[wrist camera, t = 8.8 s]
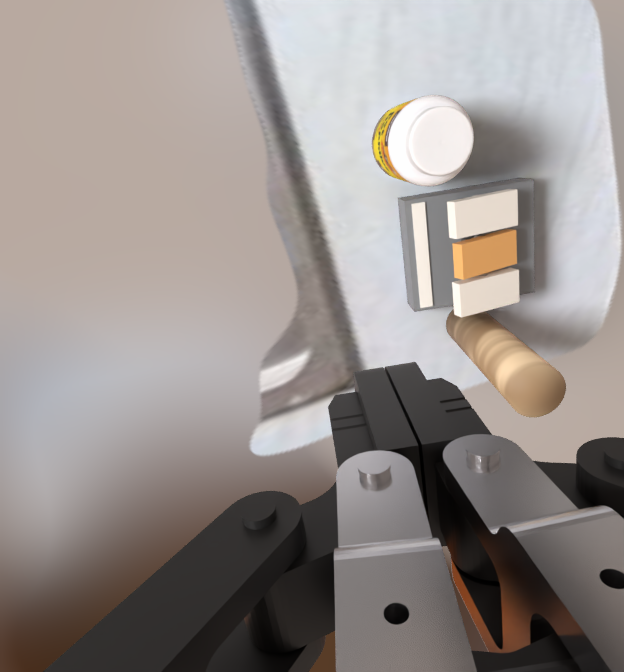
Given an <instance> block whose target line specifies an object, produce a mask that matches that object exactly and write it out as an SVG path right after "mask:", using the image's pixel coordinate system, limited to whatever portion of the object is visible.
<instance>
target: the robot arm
mask: <svg viewBox="0 0 624 672" xmlns="http://www.w3.org/2000/svg"><path fill="white" fill-rule="evenodd" d="M353 378H354V386H355V392H352V393H346V394H340V395H335V396H334V398H333V400H332V401H331V403H330V405H329V406H328V409H329V415H330V421H331V427H332V434H333V440H334V446H335V452H336V458H337V464H338V471H337V475H336V482H335V484H334V485H333V486H332V487H331V488H330V489H329V490H328V491H327V492H326V493H324V494H323V495H321V496H320V497H318V498H316V499H314V500H312V501H309V502H307V503H305V504H302V505H299V503H298V501H297V500H296V499H295V498H294V497H292V496H290V495H288V494H286V493H283V492H277V491H265V492H259V493H254V494H251V495H248V496H246V497H244V498H242V499H240V500H238V501H237V502H235V503H234V504H232V505H231V506H230V507H229V508H228V509H226V510H225V511H224V512H223V513H222V514H221V515H220V516H219V517H217V518H216V519H215V520H214V521H213V522H212V523H211V524H210V525H208V526H207V527H206V528H205V529H204V530H203V531H202V532H200V534H198V535H197V536H196V537H195V538H194V539H193V540H191V541H190V542H189V543H188V544H187V545H186V546H185V547H183V548H182V549H181V550H180V551H179V552H178V553H177V554H176V555H174V556H173V557H172V558H171V559H170V560H169V561H168V562H166V563H165V564H164V565H163V566H162V567H161V568H160V569H159V570H157V571H156V572H155V573H154V574H153V575H152V576H151V577H150V578H148V579H147V580H146V581H145V582H144V583H143V584H142V585H141V586H140V587H138V588H137V589H136V590H135V591H134V592H133V593H132V594H130V595H129V596H128V597H127V598H126V599H125V600H124V601H123V602H121V603H120V604H119V605H118V606H117V607H116V608H115V609H113V610H112V611H111V612H110V613H109V614H108V615H107V616H105V617H104V618H103V619H102V620H101V621H100V622H99V623H98V624H97V625H95V626H94V627H93V628H92V629H91V630H90V631H89V632H87V633H86V634H85V635H84V636H83V637H82V638H81V639H79V640H78V641H77V642H76V643H75V644H74V645H73V646H72V647H70V648H69V649H68V650H67V651H66V652H65V653H64V654H63V655H61V656H60V657H59V658H58V659H57V660H56V661H55V662H54V663H52V664H51V665H50V666H49V667H48V668H47V669H46V670H45V671H43V672H309V670H310V669H311V667H312V666H313V665H314V663H315V662H316V660H317V659H318V657H319V656H320V654H321V652H322V650H323V647H324V644H325V638H326V637H325V635H327V634H329V633H331V632H333V631H335V639H336V672H624V438H616V437H614V438H613V437H612V438H611V437H610V438H609V437H608V438H600V439H595V440H591V441H589V442H587V443H585V444H583V445H582V446H581V447H580V448H579V449H578V451H577V457H576V458H577V459H576V464H573V463H548V462H537V461H532V460H531V458H530V457H529V456H528V455H527V454H526V453H525V452H524V451H523V450H522V449H521V448H520V447H519V446H518V445H517V444H515V443H514V442H512V441H510V440H508V439H506V438H503V437H500V436H495V435H492V434H491V433H490V431H489V430H488V429H487V427H486V426H485V425H484V423H483V422H482V420H481V419H480V418H479V416H478V415H477V413H476V412H475V411H474V409H472V408H471V405H470V404H469V402H468V401H467V400H466V399H465V397H464V396H463V394H462V393H461V391H460V390H459V389H458V387H457V386H456V385H454V384H452V383H450V382H448V381H446V380H444V379H442V378H438V379H432V380H426V378H425V376H424V375H423V373H422V372H421V370H420V368H419V367H418V365H417V363H416V362H412V363H406V364H400V365H394V366H387V367H385V370H384V368H383V367H382V368H376V369H370V370H363V371H357V372H353ZM442 546H447V547H448V549H449V552H450V554H451V564H452V576H453V580H454V582H455V585H456V586H457V589H458V591H459V592H460V594H461V596H462V598H463V601H464V603H465V605H466V607H467V609H468V611H469V613H470V615H471V617H472V619H473V621H474V623H475V625H476V627H477V629H478V631H479V633H480V635H481V637H482V639H483V641H484V643H485V645H486V647H487V649H488V651H489V652H481V651H471V648H470V645H469V641H468V639H467V634H466V631H465V628H464V624H463V620H462V617H461V614H460V610H459V606H458V603H457V600H456V597H455V592H454V589H453V585H452V582H451V578H450V575H449V572H448V568H447V564H446V561H445V557H444V554H443V550H442Z"/></svg>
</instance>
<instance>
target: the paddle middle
mask: <svg viewBox="0 0 624 672" xmlns="http://www.w3.org/2000/svg"><path fill="white" fill-rule="evenodd" d="M452 245H453V261H454V277H455V278H458V279H462V280H465V279H468V278H471V277H474V276H478V275H481V274H484V273H488V272H491V271H494V270H497V269H501V268H504V267H507V266H511V265H514V264H517V240H516V230H513V229H504V230H500V231H497V232H493V233H489V234H486V235H476V236H474V238H471V239H467V240H463V241H460V242H456V243H452Z"/></svg>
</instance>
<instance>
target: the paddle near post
mask: <svg viewBox="0 0 624 672" xmlns="http://www.w3.org/2000/svg"><path fill="white" fill-rule="evenodd" d="M452 288H453V304H454V314H455V315H457V316H459V317H461V318H462V317H465V316H469V315H473V314H477V313H480V312H484V311H488V310H492V309H495V308H499V307H503V306H506V305H510V304H514V303H518V302H519V270H518V269H514V268H506V269H502V270H498V271H494V272H490V273H484V274H481V275H478V276H474V277H471V278H468V279H465V280H458V281H454V282H452Z"/></svg>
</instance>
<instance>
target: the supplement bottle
mask: <svg viewBox="0 0 624 672" xmlns="http://www.w3.org/2000/svg"><path fill="white" fill-rule="evenodd" d="M473 142H474V132H473V126H472V123H471V120H470V118H469V116H468V114H467V112H466V111H465V110H464V108H463V107H462V106H461V105H460V104H458V103H457V102H456V101H454V100H452V99H450V98H448V97H445V96H440V95H429V96H423V97H420V98H417V99H414V100H411V101H408V102H406V103H403V104H400V105H397V106H395V107H393V108H391V109H390V110H388V111H387V112H386V113H385V114H384V115H383V116H382V117H381V118H380V120H379V121H378V123H377V125H376V127H375V129H374V132H373V137H372V150H373V155H374V158H375V160H376V162H377V164H378V165H379V167H380V168H381V169H382V170H383V171H384V172H385V173H387V174H388V175H390V176H392V177H394V178H397V179H400V180H403V181H406V182H410V183H413V184H416V185H420V186H435V185H439V184H442V183H445V182H447V181H449V180H450V179H452V178H453V177H455V176H456V175H457V174H458V173H459V172H460V171H461V170H462V169H463V167H464V166H465V165H466V163H467V161H468V159H469V157H470V155H471V152H472V148H473Z"/></svg>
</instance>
